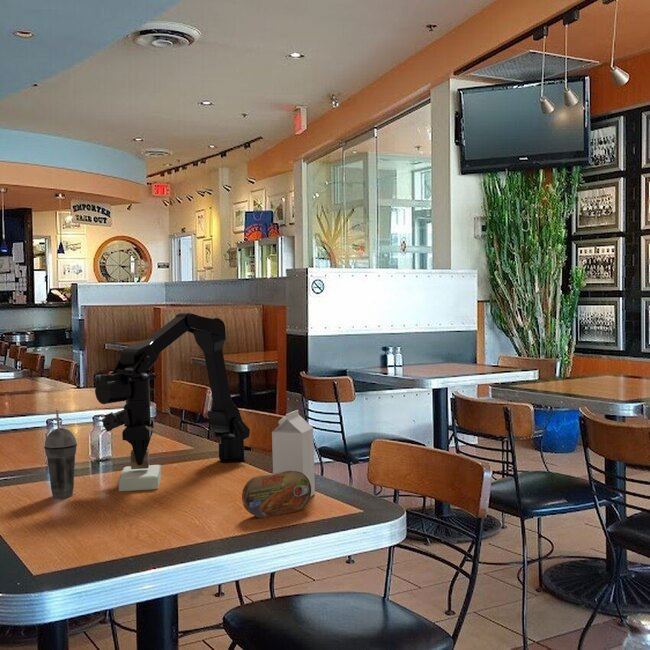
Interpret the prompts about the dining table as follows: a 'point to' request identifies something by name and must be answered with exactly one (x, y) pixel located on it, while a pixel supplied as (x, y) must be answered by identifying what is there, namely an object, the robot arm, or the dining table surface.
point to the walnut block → (144, 464)
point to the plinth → (140, 478)
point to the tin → (276, 494)
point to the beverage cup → (61, 460)
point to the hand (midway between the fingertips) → (140, 463)
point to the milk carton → (294, 447)
